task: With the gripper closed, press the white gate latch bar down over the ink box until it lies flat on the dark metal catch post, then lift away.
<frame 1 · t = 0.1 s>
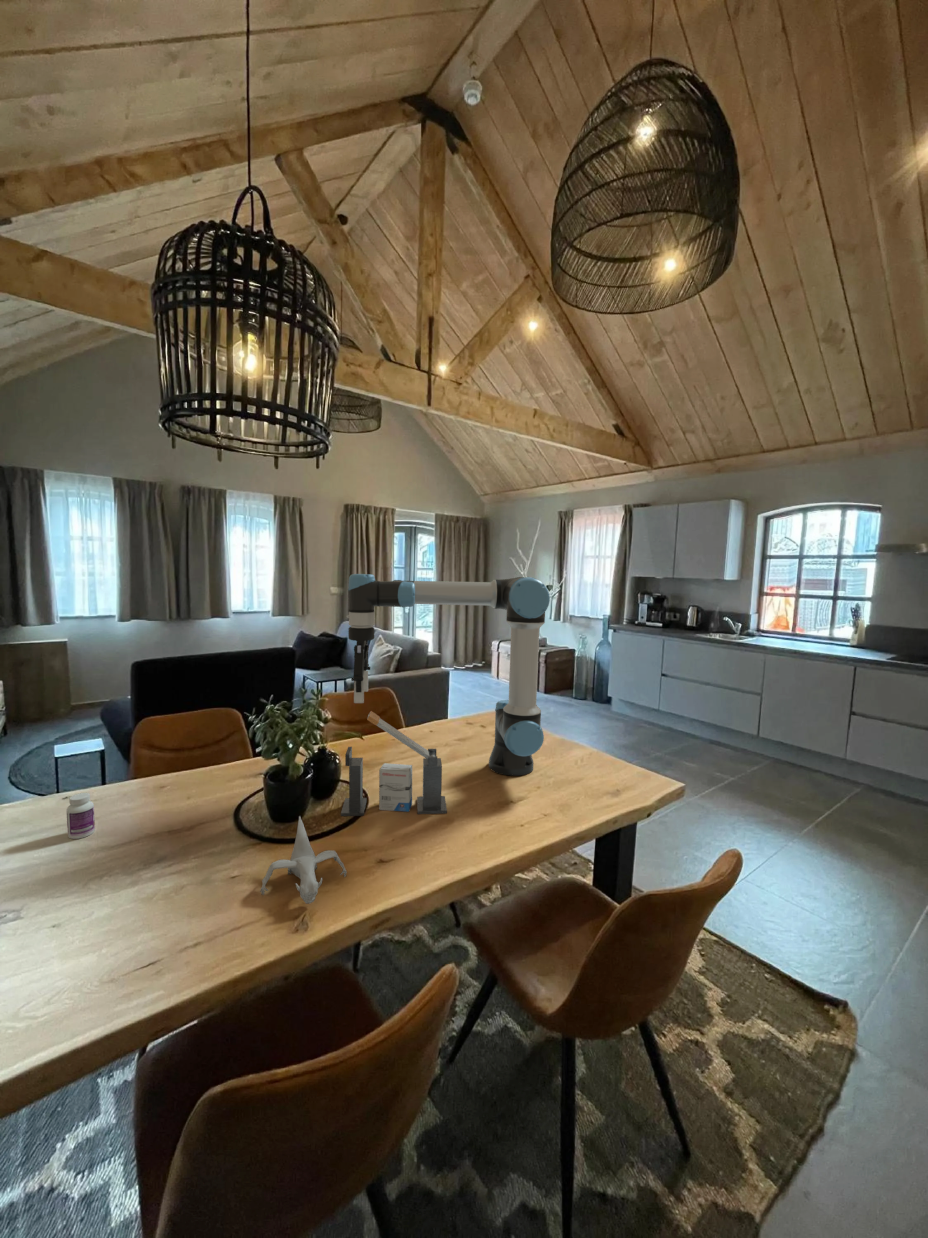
hand: (361, 697, 151), 28 cm above the table, fingers open, 13 cm apart
hinge post: (431, 806, 142), on the table
ink box: (395, 808, 141), on the table
catch post: (355, 808, 140), on the table
pill bottle: (81, 834, 123), on the table
white gate latch bar: (402, 737, 139), point 20 cm above the table, hinge at 35.0°
dragon figurine: (304, 884, 106), on the table
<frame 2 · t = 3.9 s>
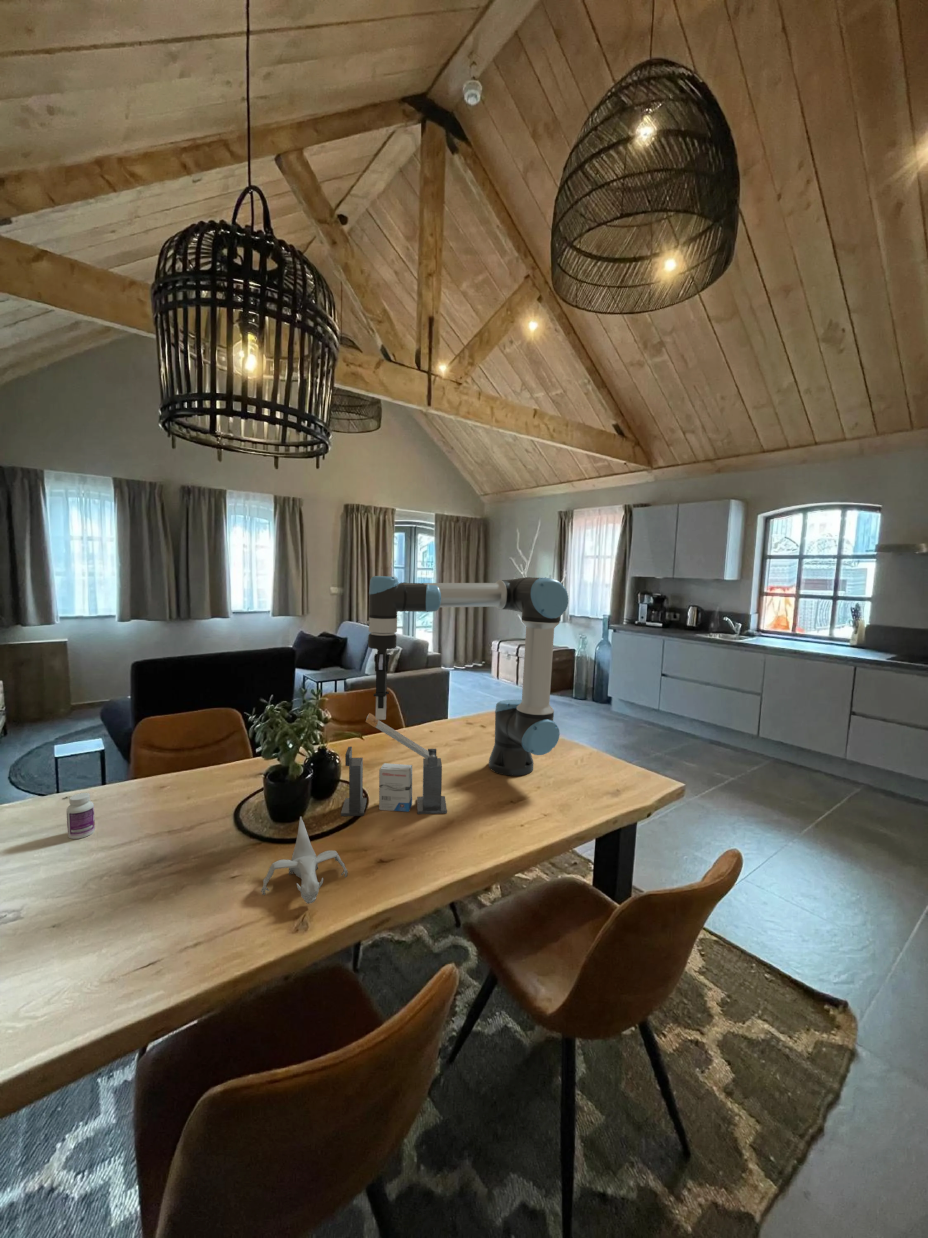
hand: (380, 718, 138), 25 cm above the table, fingers closed
white gate latch bar: (401, 738, 139), point 20 cm above the table, hinge at 33.1°, touching gripper
everything else where it was.
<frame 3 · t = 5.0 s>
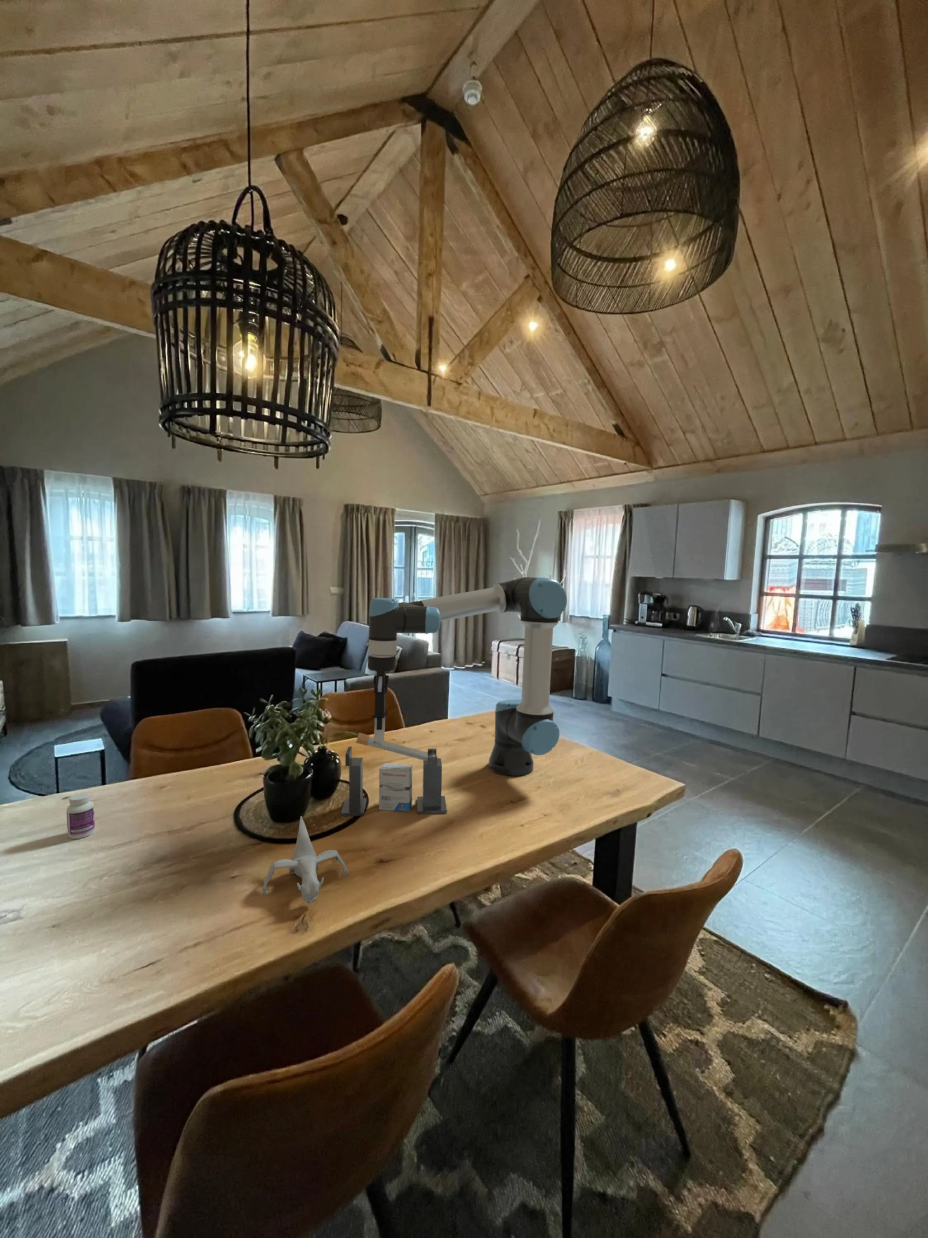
hand: (379, 739, 138), 19 cm above the table, fingers closed
white gate latch bar: (396, 748, 139), point 17 cm above the table, hinge at 16.2°, touching gripper
everything else where it was.
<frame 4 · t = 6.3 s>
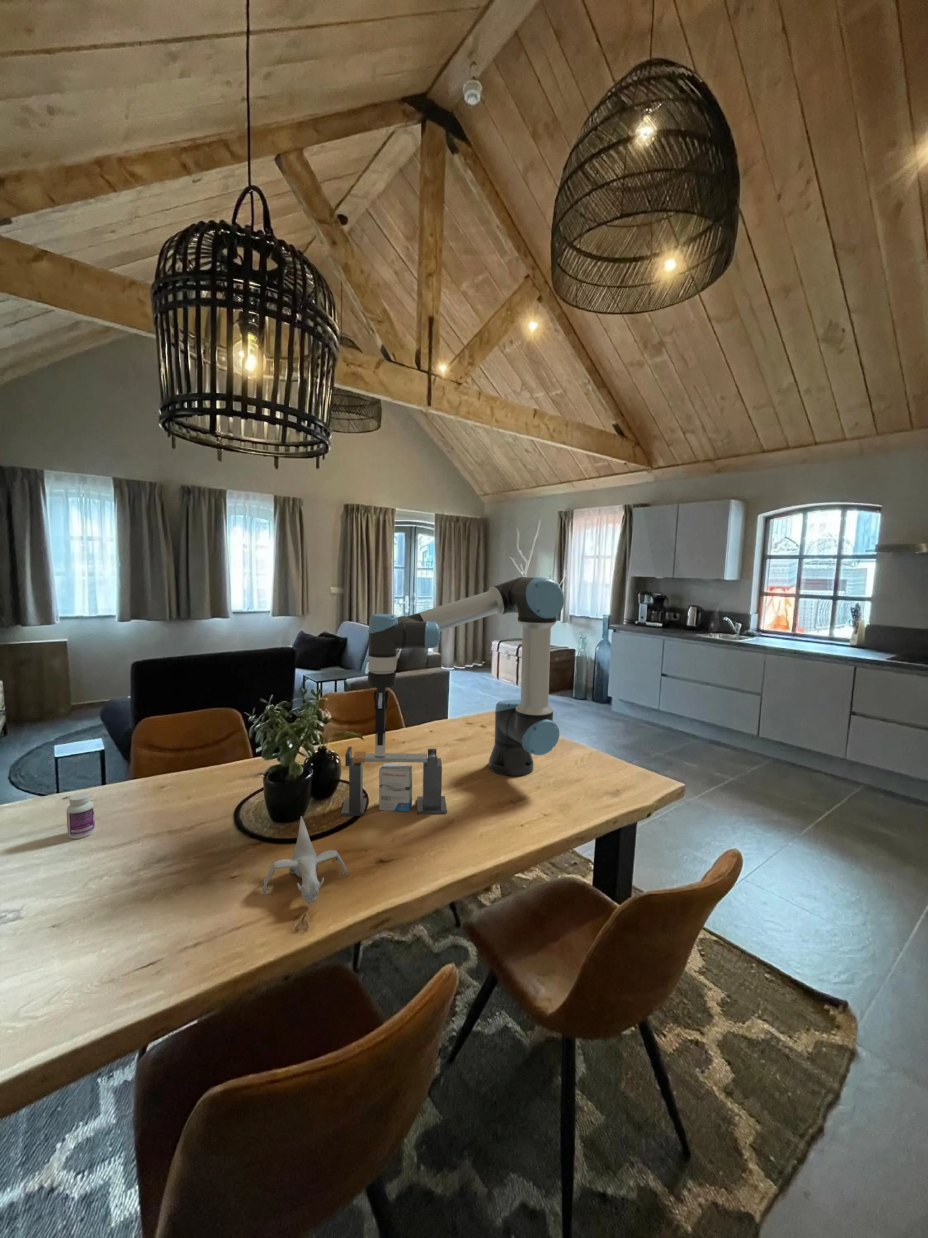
hand: (380, 755, 139), 15 cm above the table, fingers closed
white gate latch bar: (395, 757, 139), point 14 cm above the table, hinge at 1.5°, touching gripper
everything else where it was.
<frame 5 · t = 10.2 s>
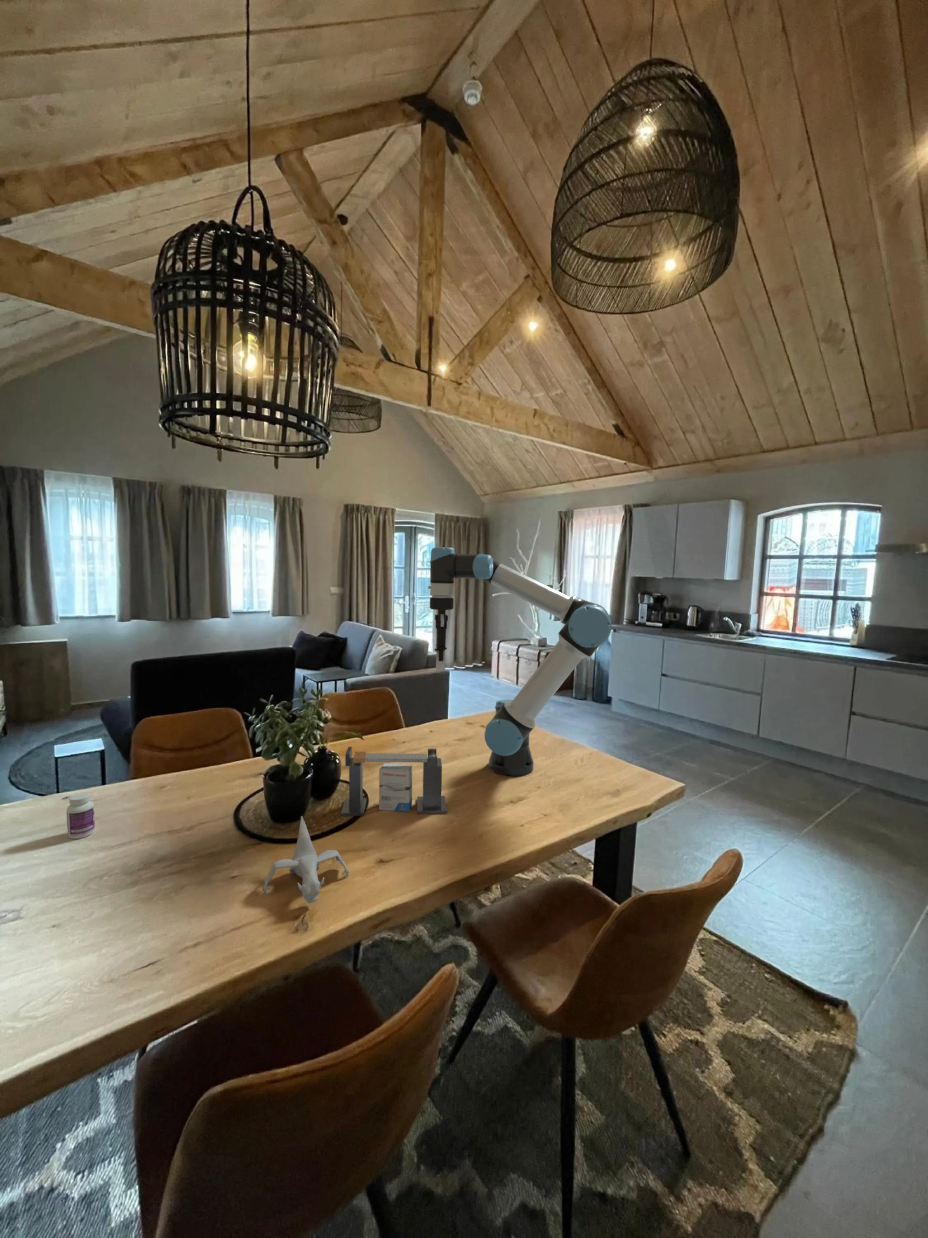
hand: (440, 670, 161), 34 cm above the table, fingers closed
white gate latch bar: (395, 757, 139), point 14 cm above the table, hinge at 1.4°
everything else where it was.
at the end: white gate latch bar at +1° (first picture: +35°); ink box tilted 0°; the gripper is holding nothing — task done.
